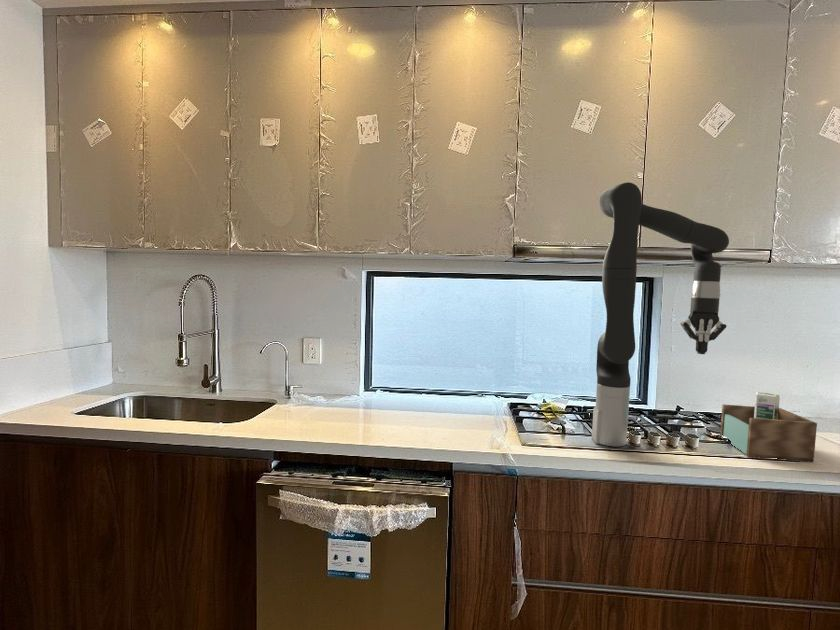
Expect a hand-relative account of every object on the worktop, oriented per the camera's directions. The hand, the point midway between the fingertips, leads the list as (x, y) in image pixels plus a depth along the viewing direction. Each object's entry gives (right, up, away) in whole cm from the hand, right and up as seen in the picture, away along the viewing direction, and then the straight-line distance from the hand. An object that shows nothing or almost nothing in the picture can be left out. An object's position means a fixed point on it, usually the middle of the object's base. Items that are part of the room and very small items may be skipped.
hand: (700, 353), depth 162 cm
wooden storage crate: (+16, -28, -4) cm, 33 cm away
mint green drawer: (+15, -28, -4) cm, 32 cm away
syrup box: (+16, -26, -4) cm, 31 cm away
